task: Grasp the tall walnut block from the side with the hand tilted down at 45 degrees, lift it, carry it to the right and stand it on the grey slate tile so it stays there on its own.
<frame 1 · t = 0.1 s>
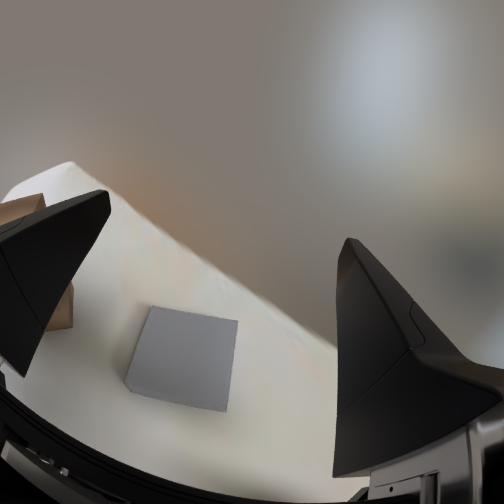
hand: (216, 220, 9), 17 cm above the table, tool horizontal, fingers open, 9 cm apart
slate tile: (186, 364, 22), on the table
walnut block: (51, 310, 23), on the table
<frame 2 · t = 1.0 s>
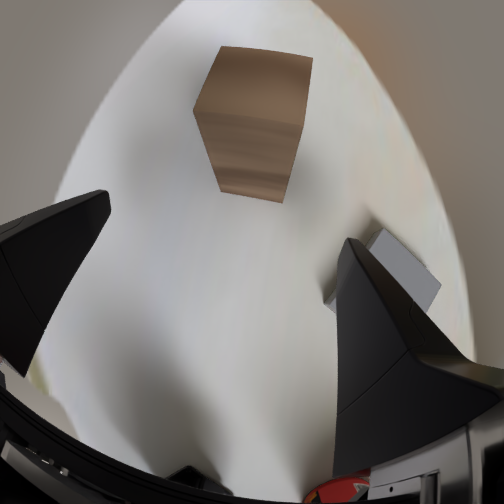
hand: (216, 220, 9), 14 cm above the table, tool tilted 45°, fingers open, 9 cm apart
canned food: (336, 496, 19), on the table
slate tile: (380, 294, 23), on the table
walnut block: (257, 169, 24), on the table
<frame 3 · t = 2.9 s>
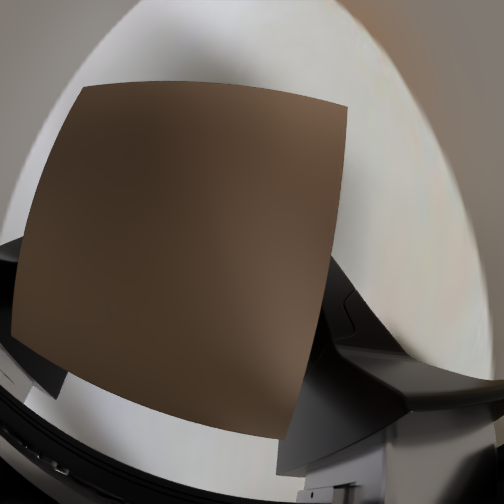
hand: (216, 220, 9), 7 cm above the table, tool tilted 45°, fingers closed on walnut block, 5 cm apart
walnut block: (228, 271, 16), on the table, touching gripper
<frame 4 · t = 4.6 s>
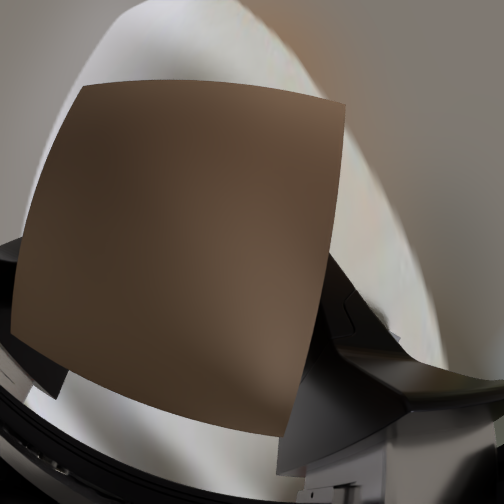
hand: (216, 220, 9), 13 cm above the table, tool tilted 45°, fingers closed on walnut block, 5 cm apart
walnut block: (227, 270, 16), point 7 cm above the table, touching gripper
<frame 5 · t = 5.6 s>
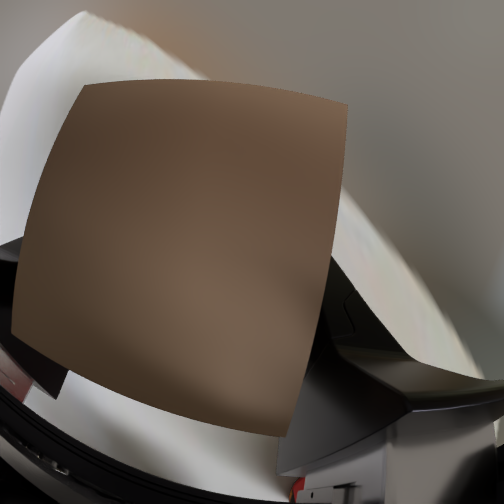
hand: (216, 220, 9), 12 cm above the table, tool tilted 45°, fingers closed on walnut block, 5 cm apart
walnut block: (228, 270, 16), point 5 cm above the table, touching gripper
when the fingers open (10 cm above the table, at t = 6.4 s): walnut block drops 1 cm, point 2 cm above the table.
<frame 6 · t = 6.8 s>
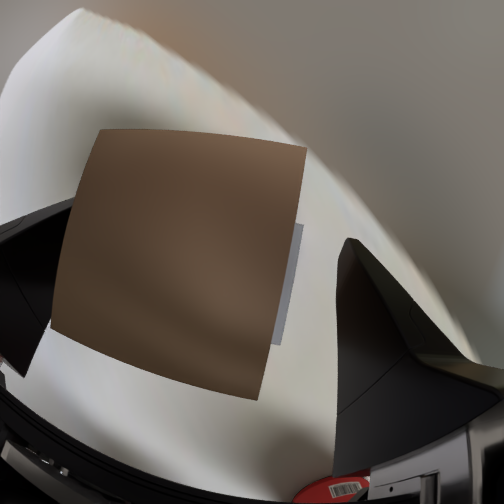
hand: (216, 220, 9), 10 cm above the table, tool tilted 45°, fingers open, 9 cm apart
canned food: (329, 497, 17), on the table
slate tile: (234, 274, 20), on the table
walnut block: (230, 273, 17), point 2 cm above the table
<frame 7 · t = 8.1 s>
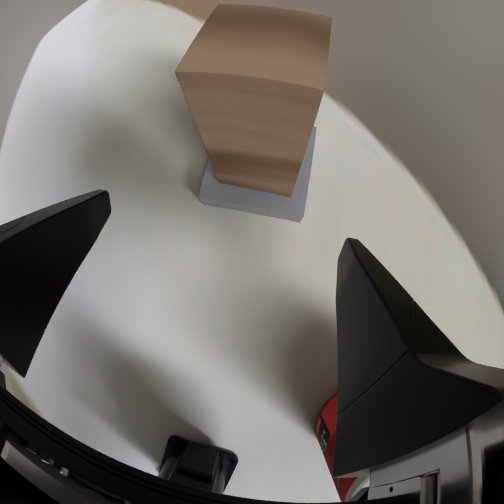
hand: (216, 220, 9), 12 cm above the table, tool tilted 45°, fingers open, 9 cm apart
canned food: (356, 415, 20), on the table
slate tile: (260, 170, 23), on the table
walnut block: (262, 157, 20), point 2 cm above the table
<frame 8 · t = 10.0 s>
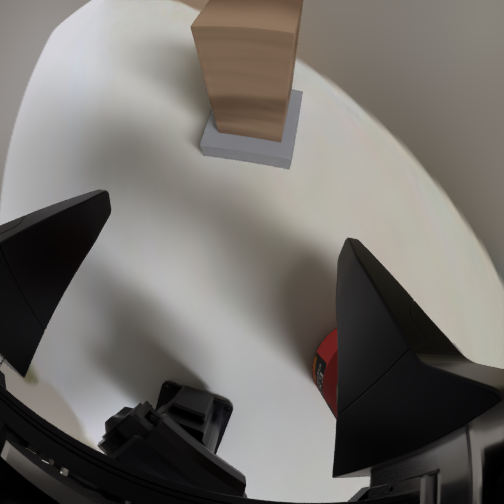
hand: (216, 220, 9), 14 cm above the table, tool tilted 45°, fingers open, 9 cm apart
canned food: (353, 359, 22), on the table
slate tile: (254, 129, 25), on the table, touching walnut block
walnut block: (256, 112, 22), point 2 cm above the table, touching slate tile
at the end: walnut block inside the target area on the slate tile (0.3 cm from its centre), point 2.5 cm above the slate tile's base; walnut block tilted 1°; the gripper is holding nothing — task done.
